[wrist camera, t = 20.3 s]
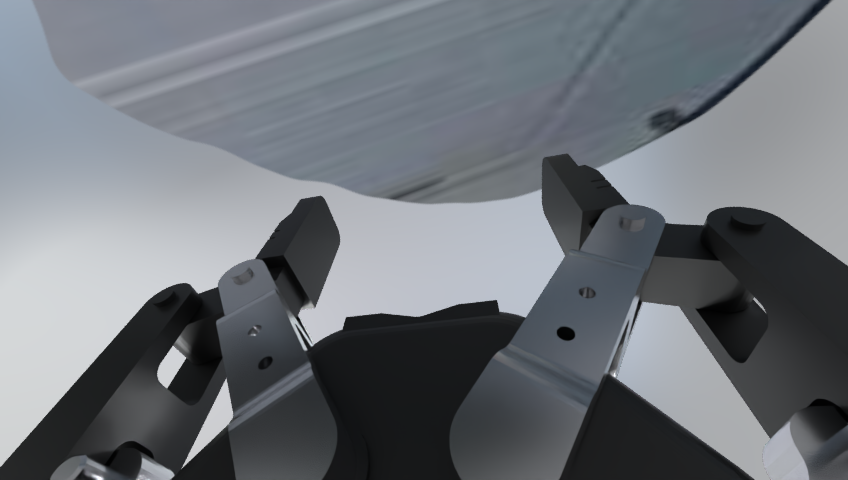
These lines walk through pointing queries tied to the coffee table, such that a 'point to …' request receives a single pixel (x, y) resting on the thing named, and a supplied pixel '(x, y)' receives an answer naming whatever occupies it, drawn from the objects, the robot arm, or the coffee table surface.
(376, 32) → the coffee table surface
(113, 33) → the coffee table surface
